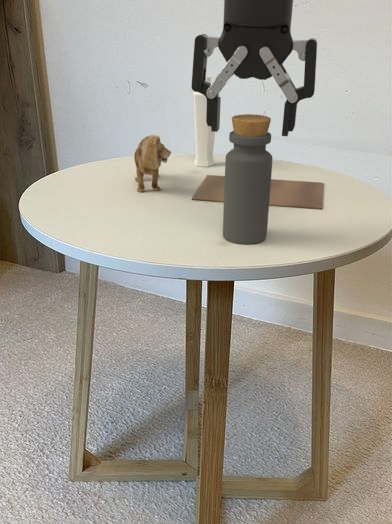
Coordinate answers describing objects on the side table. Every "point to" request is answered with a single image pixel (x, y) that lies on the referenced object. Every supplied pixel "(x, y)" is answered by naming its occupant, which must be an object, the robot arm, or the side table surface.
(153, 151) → the lion figurine
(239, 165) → the bottle
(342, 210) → the side table surface
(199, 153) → the perfume bottle
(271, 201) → the copper mat
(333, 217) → the side table surface
